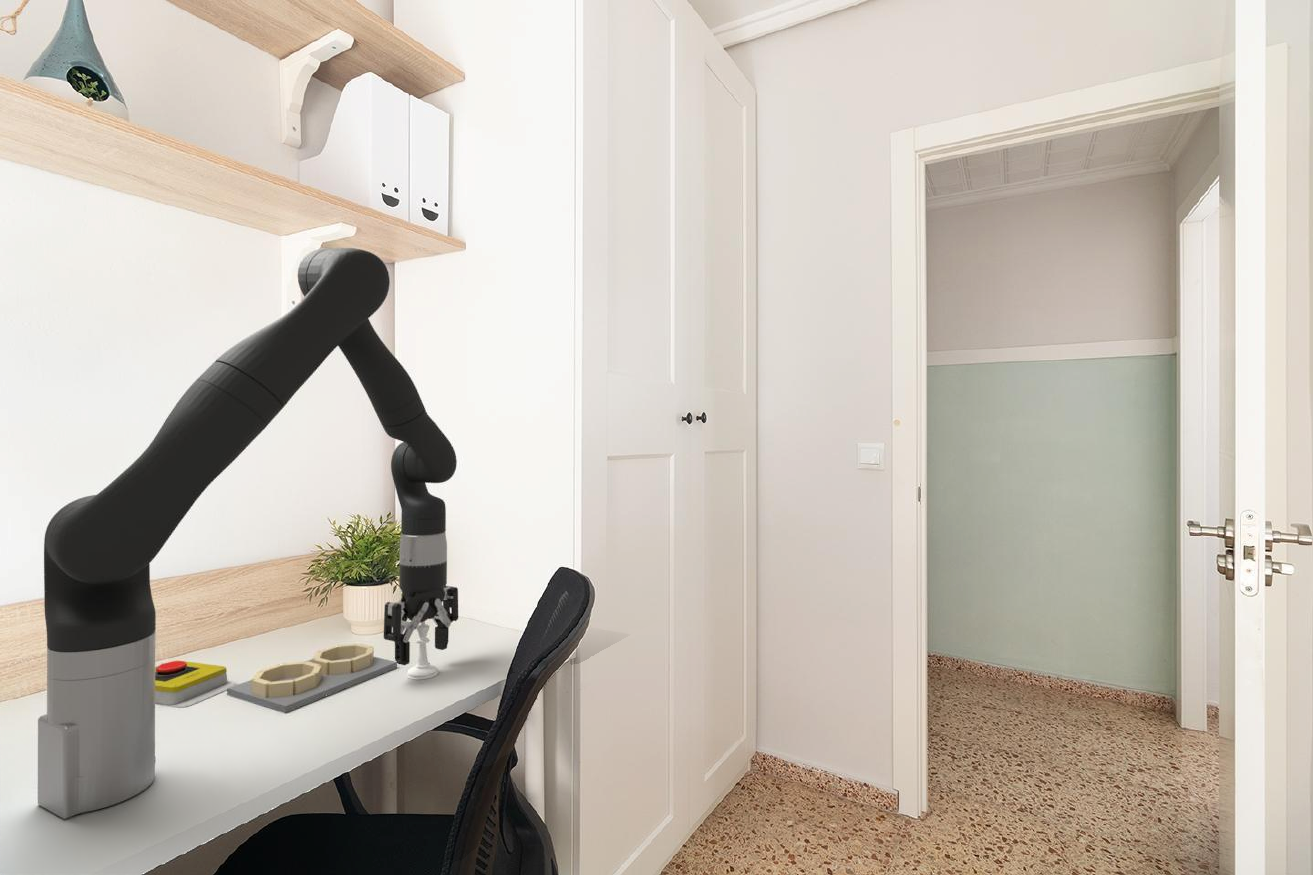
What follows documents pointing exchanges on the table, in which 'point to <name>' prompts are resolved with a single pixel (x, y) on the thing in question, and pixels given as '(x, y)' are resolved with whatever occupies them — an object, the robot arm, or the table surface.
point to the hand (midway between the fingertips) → (422, 655)
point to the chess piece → (422, 657)
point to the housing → (312, 677)
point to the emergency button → (188, 683)
